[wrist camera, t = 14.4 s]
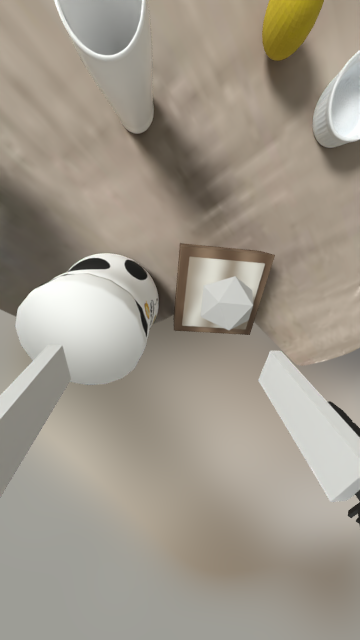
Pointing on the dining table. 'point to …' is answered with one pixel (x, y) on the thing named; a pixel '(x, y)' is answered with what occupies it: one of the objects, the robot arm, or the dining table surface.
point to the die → (227, 303)
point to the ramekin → (339, 108)
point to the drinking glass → (115, 53)
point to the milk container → (92, 317)
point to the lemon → (288, 25)
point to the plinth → (214, 266)
